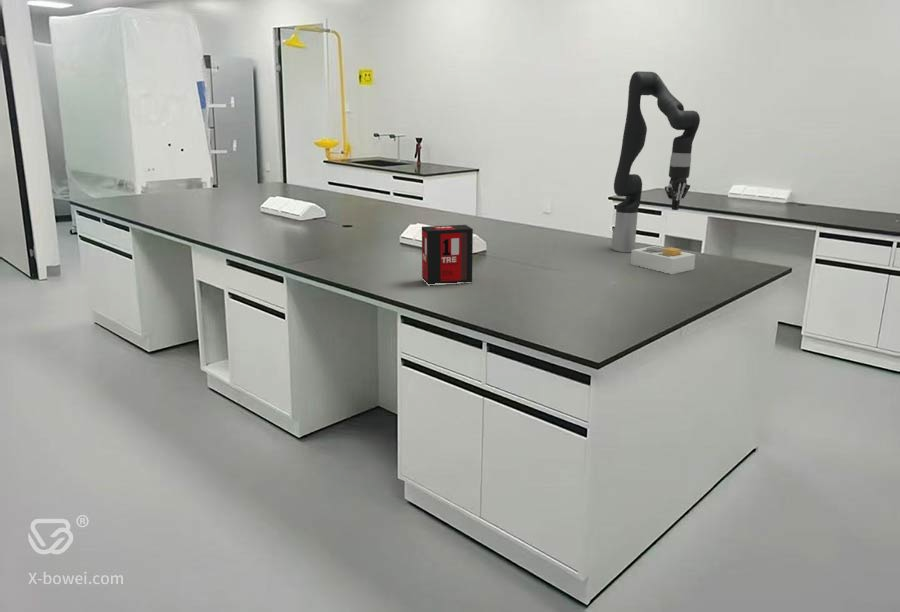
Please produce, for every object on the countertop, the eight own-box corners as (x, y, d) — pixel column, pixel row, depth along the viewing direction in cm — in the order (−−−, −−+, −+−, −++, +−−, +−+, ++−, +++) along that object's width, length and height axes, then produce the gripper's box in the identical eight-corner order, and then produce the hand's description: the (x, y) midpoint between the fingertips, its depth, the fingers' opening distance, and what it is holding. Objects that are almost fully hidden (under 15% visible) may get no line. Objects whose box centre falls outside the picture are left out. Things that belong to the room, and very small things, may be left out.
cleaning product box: (465, 277, 256) (465, 224, 250) (472, 283, 248) (472, 228, 242) (422, 280, 252) (421, 226, 246) (427, 286, 244) (427, 231, 238)
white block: (645, 258, 276) (646, 247, 275) (653, 257, 278) (654, 246, 277) (655, 261, 272) (656, 249, 271) (662, 259, 275) (663, 248, 273)
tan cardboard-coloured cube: (662, 259, 269) (663, 248, 268) (669, 258, 272) (670, 247, 271) (672, 262, 266) (673, 250, 264) (679, 260, 268) (681, 249, 267)
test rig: (630, 264, 277) (631, 249, 275) (652, 260, 285) (654, 245, 283) (671, 274, 261) (673, 258, 259) (693, 269, 269) (695, 254, 267)
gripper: (682, 162, 267) (677, 206, 273) (660, 164, 260) (656, 209, 266) (699, 164, 262) (693, 209, 267) (677, 166, 254) (671, 212, 260)
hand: (674, 209), depth 266 cm, fingers closed
